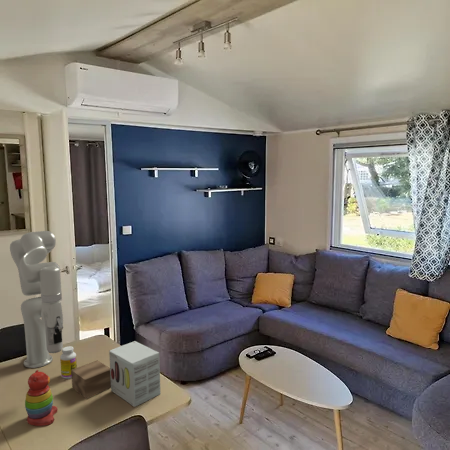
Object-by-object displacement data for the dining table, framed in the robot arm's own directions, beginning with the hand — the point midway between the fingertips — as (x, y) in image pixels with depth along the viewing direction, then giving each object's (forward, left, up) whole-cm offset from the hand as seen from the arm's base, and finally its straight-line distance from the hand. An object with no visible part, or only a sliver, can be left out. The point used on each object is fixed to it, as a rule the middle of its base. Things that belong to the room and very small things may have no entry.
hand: (54, 339), depth 166 cm
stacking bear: (+12, -12, -23) cm, 29 cm away
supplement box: (+24, +22, -23) cm, 40 cm away
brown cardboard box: (+7, +12, -23) cm, 27 cm away
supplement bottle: (-10, +10, -23) cm, 27 cm away
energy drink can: (0, 0, -5) cm, 5 cm away
